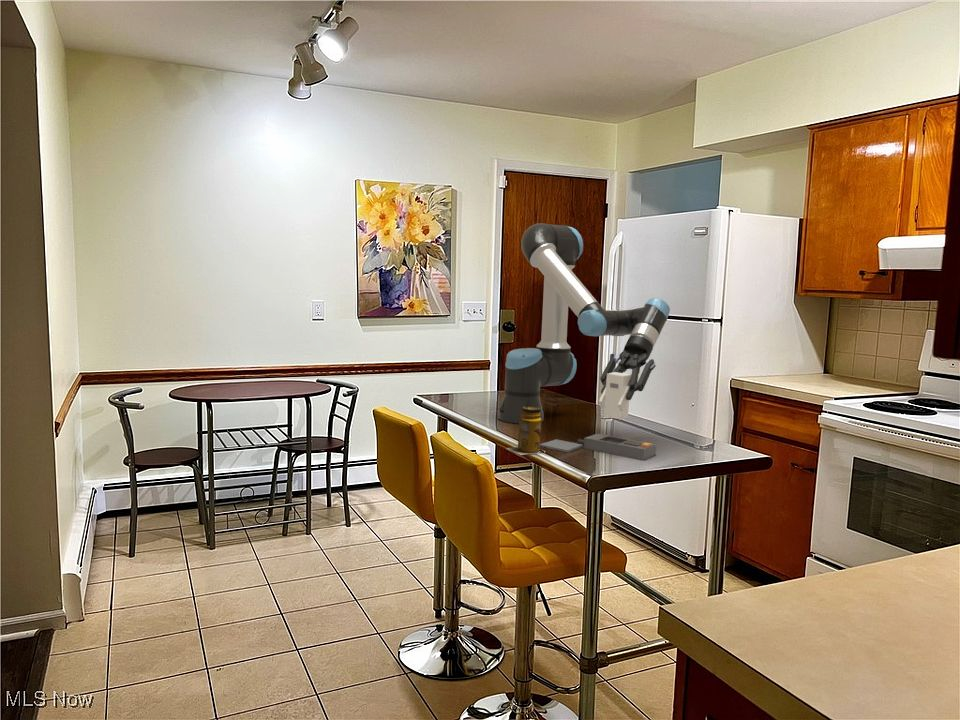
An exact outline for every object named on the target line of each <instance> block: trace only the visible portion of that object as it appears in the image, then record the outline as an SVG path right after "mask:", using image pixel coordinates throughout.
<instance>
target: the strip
mask: <svg viewBox="0 0 960 720" xmlns="http://www.w3.org/2000/svg"><path fill="white" fill-rule="evenodd" d="M576 443H577V444H582V445H583V449H586V450H591V451H597V452H601V453H606V454H611V455H614V456H619V457H625V458H631V459H634V460H641V461H646V460H647V459H650V458H651V457H654V456H656V454H657V453H656V451H657V444H655V443H651V442H646V441H640V440H634V439H629V438H624V437H618V436H612V435H608V434H602V433H595V434H592V435H590V436H586V437H584V439H581V438H578V439H577V441H576Z"/></svg>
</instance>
